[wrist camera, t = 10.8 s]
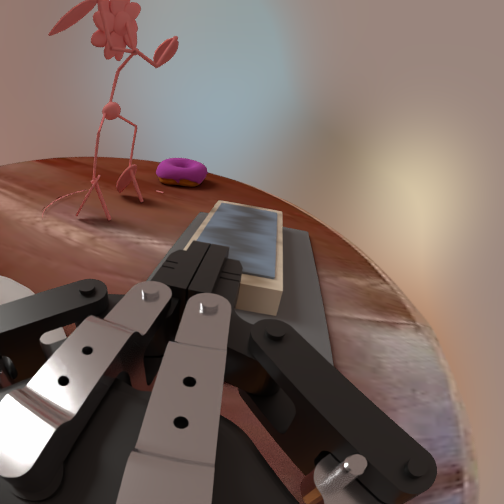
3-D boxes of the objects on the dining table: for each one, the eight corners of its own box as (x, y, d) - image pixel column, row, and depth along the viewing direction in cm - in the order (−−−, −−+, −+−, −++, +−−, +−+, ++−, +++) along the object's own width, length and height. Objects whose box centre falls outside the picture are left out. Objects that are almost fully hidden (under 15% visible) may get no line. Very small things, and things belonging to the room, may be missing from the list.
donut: (150, 185, 54) (151, 162, 52) (163, 174, 63) (165, 154, 61) (202, 191, 55) (205, 167, 53) (208, 179, 64) (211, 159, 62)
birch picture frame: (169, 266, 22) (218, 198, 40) (169, 294, 24) (216, 216, 42) (283, 288, 22) (282, 210, 40) (276, 316, 23) (278, 228, 41)
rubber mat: (334, 395, 17) (337, 390, 17) (103, 348, 17) (102, 342, 17) (306, 235, 42) (307, 231, 42) (199, 215, 43) (200, 211, 42)
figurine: (169, 191, 52) (196, 10, 36) (76, 246, 29) (114, -51, 13) (105, 180, 53) (126, 18, 38) (9, 223, 30) (31, -13, 15)
